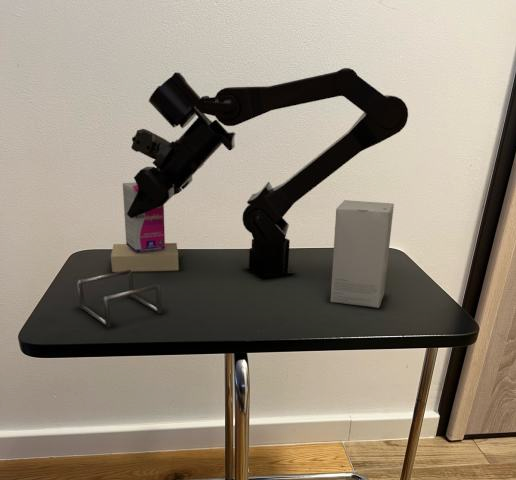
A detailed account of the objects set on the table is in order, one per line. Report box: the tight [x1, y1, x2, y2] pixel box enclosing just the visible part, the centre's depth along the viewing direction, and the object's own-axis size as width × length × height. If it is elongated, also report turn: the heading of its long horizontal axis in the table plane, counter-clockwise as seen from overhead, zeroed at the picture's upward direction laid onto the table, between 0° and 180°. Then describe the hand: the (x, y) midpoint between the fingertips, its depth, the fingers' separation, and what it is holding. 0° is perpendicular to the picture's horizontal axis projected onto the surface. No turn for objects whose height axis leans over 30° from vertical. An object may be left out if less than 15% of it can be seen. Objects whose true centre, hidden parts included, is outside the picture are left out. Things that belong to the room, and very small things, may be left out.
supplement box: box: [122, 181, 166, 252], centre depth 99 cm, size 6×6×12 cm
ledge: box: [110, 242, 180, 273], centre depth 102 cm, size 12×8×3 cm, turn 100°
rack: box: [76, 270, 163, 329], centre depth 82 cm, size 9×9×5 cm
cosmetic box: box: [330, 199, 395, 309], centre depth 86 cm, size 8×7×16 cm
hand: (136, 211), depth 99 cm, fingers closed on supplement box, 7 cm apart
